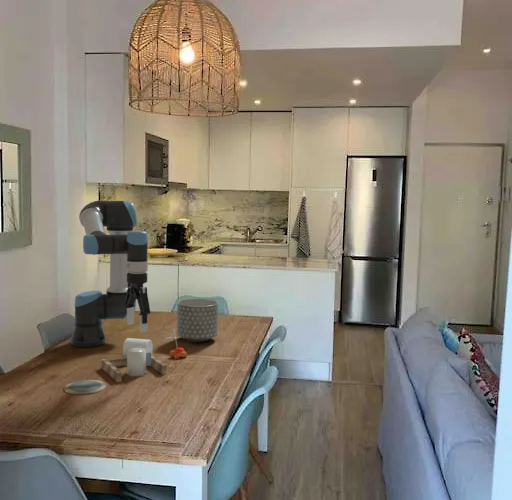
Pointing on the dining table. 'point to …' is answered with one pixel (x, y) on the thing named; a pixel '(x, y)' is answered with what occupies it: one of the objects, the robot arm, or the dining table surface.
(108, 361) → the wooden u-shaped frame
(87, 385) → the coaster
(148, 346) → the mug
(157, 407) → the dining table surface
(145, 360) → the blue handled white cup
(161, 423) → the dining table surface
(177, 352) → the orange lump with branch
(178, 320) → the planter
